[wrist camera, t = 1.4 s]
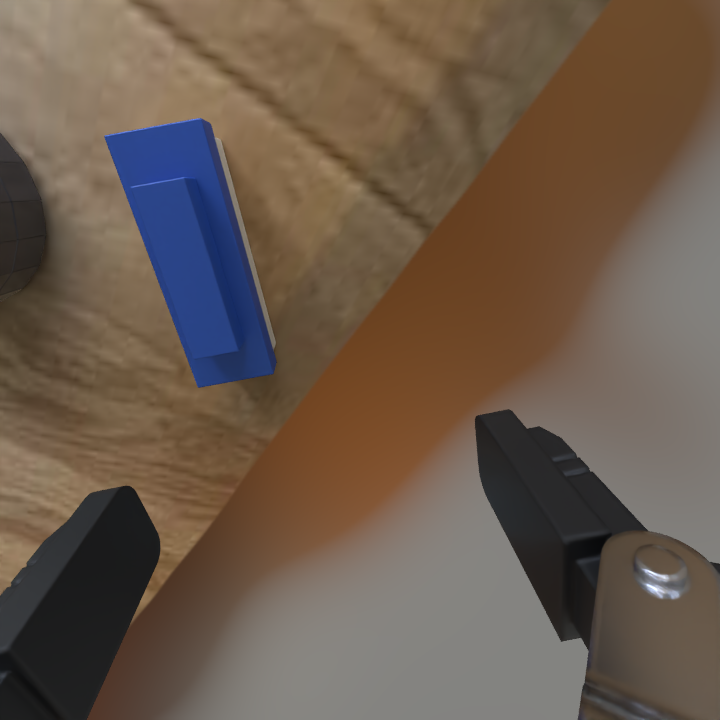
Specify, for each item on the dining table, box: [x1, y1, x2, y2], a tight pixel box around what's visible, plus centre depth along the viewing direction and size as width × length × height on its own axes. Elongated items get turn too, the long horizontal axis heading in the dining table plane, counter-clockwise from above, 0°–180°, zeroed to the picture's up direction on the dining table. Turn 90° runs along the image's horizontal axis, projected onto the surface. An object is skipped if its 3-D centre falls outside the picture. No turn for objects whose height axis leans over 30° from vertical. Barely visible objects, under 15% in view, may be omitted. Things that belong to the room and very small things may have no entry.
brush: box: [104, 118, 277, 388], centre depth 23 cm, size 14×5×6 cm, turn 10°
